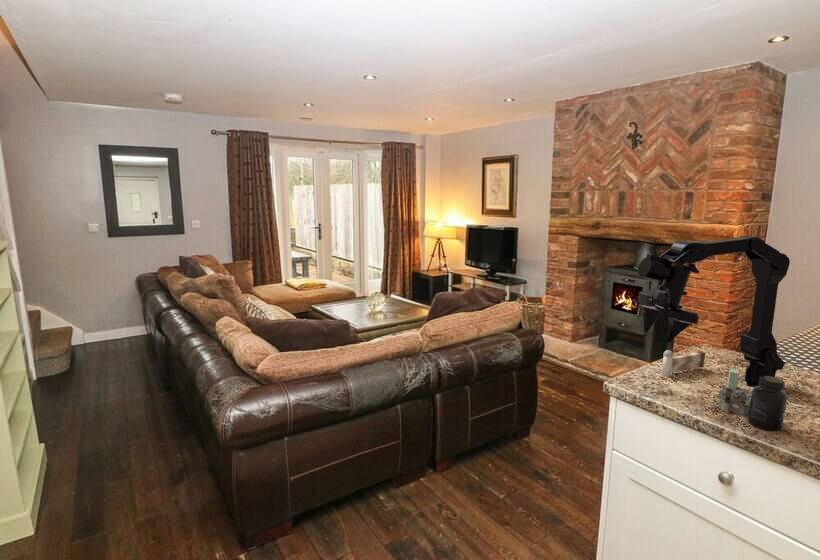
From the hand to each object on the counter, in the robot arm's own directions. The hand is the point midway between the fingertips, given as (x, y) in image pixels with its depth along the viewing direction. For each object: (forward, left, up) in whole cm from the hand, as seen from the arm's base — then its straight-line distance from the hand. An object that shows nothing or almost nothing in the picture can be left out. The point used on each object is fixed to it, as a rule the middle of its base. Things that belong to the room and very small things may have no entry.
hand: (656, 336), depth 132 cm
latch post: (-20, -12, -15) cm, 28 cm away
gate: (-8, -19, -14) cm, 26 cm away
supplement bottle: (-26, +10, -15) cm, 32 cm away
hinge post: (-3, -12, -15) cm, 20 cm away
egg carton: (-20, +2, -16) cm, 26 cm away
